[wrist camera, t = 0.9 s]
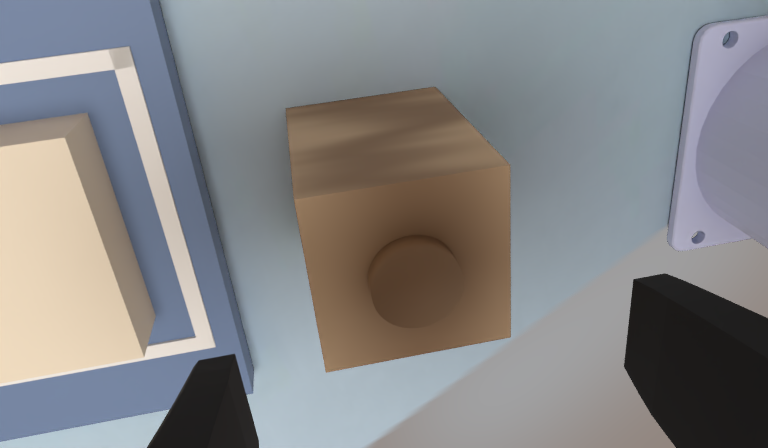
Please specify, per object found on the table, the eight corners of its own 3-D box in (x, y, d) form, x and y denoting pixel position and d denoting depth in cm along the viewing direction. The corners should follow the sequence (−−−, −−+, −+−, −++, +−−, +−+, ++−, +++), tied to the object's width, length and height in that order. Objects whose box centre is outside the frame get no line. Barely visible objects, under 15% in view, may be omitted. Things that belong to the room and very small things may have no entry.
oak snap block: (435, 86, 18) (520, 175, 12) (443, 218, 20) (519, 352, 14) (285, 108, 18) (295, 212, 12) (309, 241, 20) (328, 390, 14)
